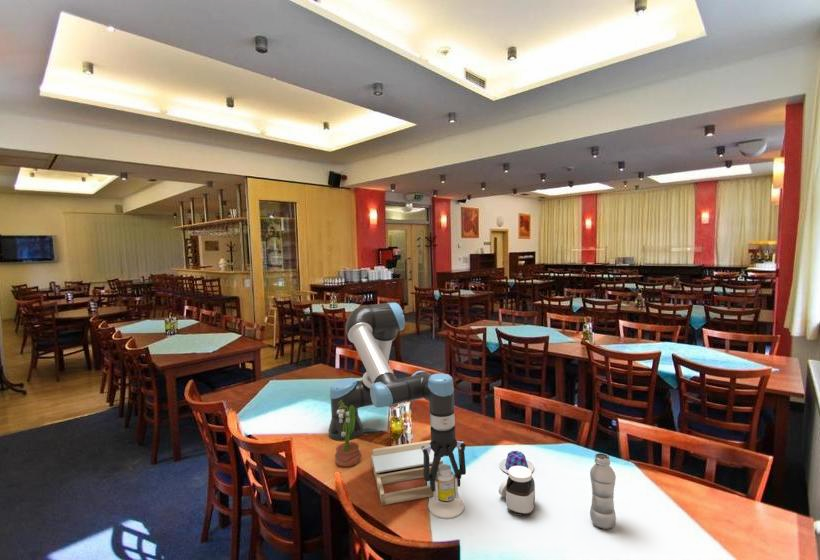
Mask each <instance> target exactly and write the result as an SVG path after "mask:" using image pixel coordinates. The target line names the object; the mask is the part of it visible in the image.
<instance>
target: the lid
mask: <svg viewBox="0 0 820 560" xmlns="http://www.w3.org/2000/svg"><path fill="white" fill-rule="evenodd" d="M430 442H431V439H429V440H428V439H427V440H423V441H422V440H421V441H416V442H410V443H402V444H397V445H396V444H395V445H390V446H383V447H378V448H377V447H376V448H373V449H372V453H371V455H370V456H371V457H372V458H371V459H372V460H373V464H374V468H375V472H376V473H379V474H380V473H385V472H392V471H397V470H404V469H409V468H417V467H422V466H424V454H423V451H422V447H423V446H424V447H427V446H429V445H430ZM433 458H434V451H433V450H432V449H431V450H430V454H429V465H432V463H433ZM372 460H371V461H372ZM440 462H443V463H444V459H443V457H441V460H440ZM440 462H439V463H440Z"/></svg>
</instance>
